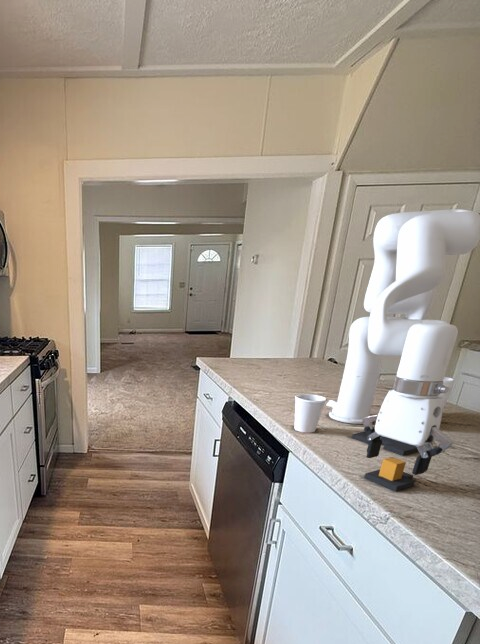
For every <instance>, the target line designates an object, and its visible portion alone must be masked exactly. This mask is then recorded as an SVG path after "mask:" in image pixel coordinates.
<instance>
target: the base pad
mask: <svg viewBox="0 0 480 644" xmlns="http://www.w3.org/2000/svg"><path fill="white" fill-rule="evenodd" d="M367 437H368V436H367V434H366V432H365V431H364V430H363V431H359V432H355V433H352V435H351V439H354V440H356V441H359V442H362V443H366V444H367V445H368V444H369V440H368V439H367ZM380 439H381V440H382V444H381V445H383V450H385V451H388V452H392V453H394V454H398V455H400V456H405V455H409V454H413V453H417V452H418V453H419V451H418V449H417V447H416V446H414V445H410V444H407V443H403V442H400V441H397V440H393V439H390V438H387V437H384V436H383V437H381V438H380ZM431 444H432V446H433V444H434V443H431Z"/></svg>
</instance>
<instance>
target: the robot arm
mask: <svg viewBox="0 0 480 644" xmlns="http://www.w3.org/2000/svg"><path fill="white" fill-rule="evenodd" d="M372 240H373V241H372V242H373V244H372V245H373V252H374V254H373V255H374V261H373V262H374V263H373V267H372V271H371V274H370V277H369V281H368V285H367V288H366V291H365V296H364V299H363V308H364V310H365V311H366V312H367V313H370V314H369V316H362V317H359V318H357V319H355V320H354V321H353V322H352V323H351V325H350V327H349V330H348V344H347V345H348V347H347V354H346V360H345V365H344V370H343V374H342V379H341V384H340V387H339V392H338V397H337V400H333V399H329V400H328V401H327V403H325V404H326V405H325V406H326V407H329V408H332V409H331V410H330V411H329V413H328V416H329V418H331V419H332V420H335V421H337V422H340V423H341V422H342V423H346V424H351V425H363V427H364V428H363V432H364V431H365V432H366V434H367V436H368V437H367V439H368V440H369V444H368V443H367V448H366V458H367V459H372V458H377V457H379V455H380V452H381V448H382V445H383V444H382V440H381V439H380V438H381V437H383V436H384V437H387V438H390V439H393V440H397V441H400V442H403V443H407V444H410V445H414V446H416V447H417V449H418V453H419V456H416V459H415V461H414V465H413V468H412V470H411V473H412V475H413V476H419V475H423V474H424V473H426V472H427V471H428V469H429V466H430V463H431V461H432V457H435V456H437V455H439V454H441V453H444V452H445V451H447V450H448V449H449V448H450V447H451V446H452V445H453V444H454V442H455V441H454V440H453V439H452V438H450V437H449V436H448V435H447V434H445V433H444V432H443V431H442V430H440V427H441V423H442V417H443V412H444V409H443V397H440V396H439V395H440V394H441V393H444V394H446V393H447V392H448V390H449V387H446V386H444V385H443V383H444V382H443V379H444V377H446V376H445V375H446V372H447V369H448V366H449V363H450V360H451V357H452V354H453V350H454V348H455V344H456V340H457V338H458V333H459V331H458V327H457V326H456V325H454V324H452V323H451V324H450V323H449V322H447V321H445V320H442V319H428V317H429V314H430V312H431V309H432V308H433V304H434V301H435V298H436V293H437V287H438V286H439V285H440V284H441V283H442V282H443V281H444V280H445V276H446V256H459V255H466V254H468V253H470V252H472V251H473V250H474V249H475V248H476V246H477V245H478V243H479V242H480V214H479V212H477V211H475V210H468V209H462V208H455V209H451V208H450V209H436V210H435V209H433V210H416V211H402V212H395V213H391V214H387V215H385V216H383V217H381V219H379V220H378V221H377V223H376V226H375V228H374V232H373V239H372ZM388 315H389V316H388ZM390 315H405V316H390ZM379 356H390V357H391V356H392V357H400V361H399V365H398V369H397V370H396V371H397V372H396V375H395V379H394V383H393V387H392V389H390V390H388V392H387V394H386V395H385V397H384V400H383V401H382V404H381V407H380V408H379V412H378V414H375V415H372V414H371V411H372V408H373V403H374V399H375V395H376V392H377V388H378V383H379V380H380V375H381V372H382V368H383V366H382V361H381V359H380V357H379ZM374 422H375V425H374V426H373V423H374ZM436 440H437V441H438V443H439V444H437V446H435V447H434V446H433V445H432V444H434V443H435V442H436ZM431 443H432V444H431Z"/></svg>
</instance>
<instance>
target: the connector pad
mask: <svg viewBox="0 0 480 644" xmlns="http://www.w3.org/2000/svg"><path fill="white" fill-rule="evenodd" d="M406 464H407V461H404V460H401V459H400V458H399V459H398V458H396V457H393V456H391V457H387V458H383V459H382V462H381V466H380V469H376V470H374V471H373V470H372V471H369V472H366V473H364V477H363V478H364V479H366V480H368V481H371V482H373V483H375V484H378V485H380V486H381V487H384V488H387V489H388V490H391V491H393V492H399V491H401V490H405V489H408V488H411V487H414V485H415V483H416V481H415V480H413V478H414V474H411V473H408V472H406V471H404V470H405V467H406Z"/></svg>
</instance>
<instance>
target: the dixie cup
mask: <svg viewBox="0 0 480 644" xmlns="http://www.w3.org/2000/svg"><path fill="white" fill-rule="evenodd" d="M294 399H295V402H294V403H295V404H294V427H293V429H294V430H295V431H296V432H300V433H305V434H306V433H307V434H309V433H315V432H316V430H317V427H318V423H319V421H320V418H321V416H322V412H323V409H324V407H325V404H326V402H328V401H327V397H325V396H322V395H319V394H312V393H300V394H296V395H295V396H294Z"/></svg>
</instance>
